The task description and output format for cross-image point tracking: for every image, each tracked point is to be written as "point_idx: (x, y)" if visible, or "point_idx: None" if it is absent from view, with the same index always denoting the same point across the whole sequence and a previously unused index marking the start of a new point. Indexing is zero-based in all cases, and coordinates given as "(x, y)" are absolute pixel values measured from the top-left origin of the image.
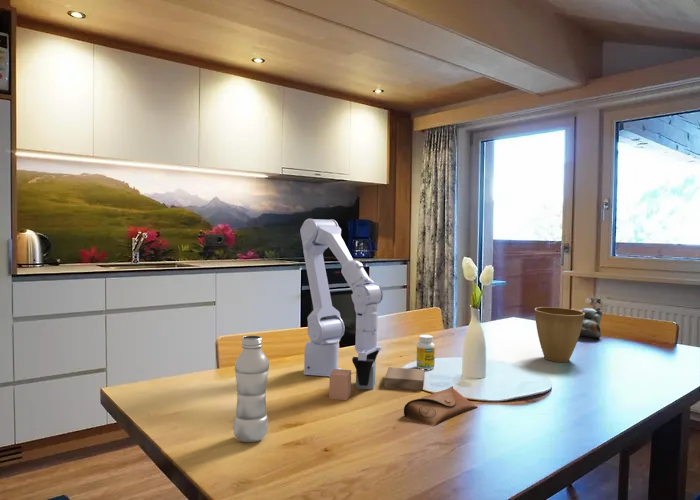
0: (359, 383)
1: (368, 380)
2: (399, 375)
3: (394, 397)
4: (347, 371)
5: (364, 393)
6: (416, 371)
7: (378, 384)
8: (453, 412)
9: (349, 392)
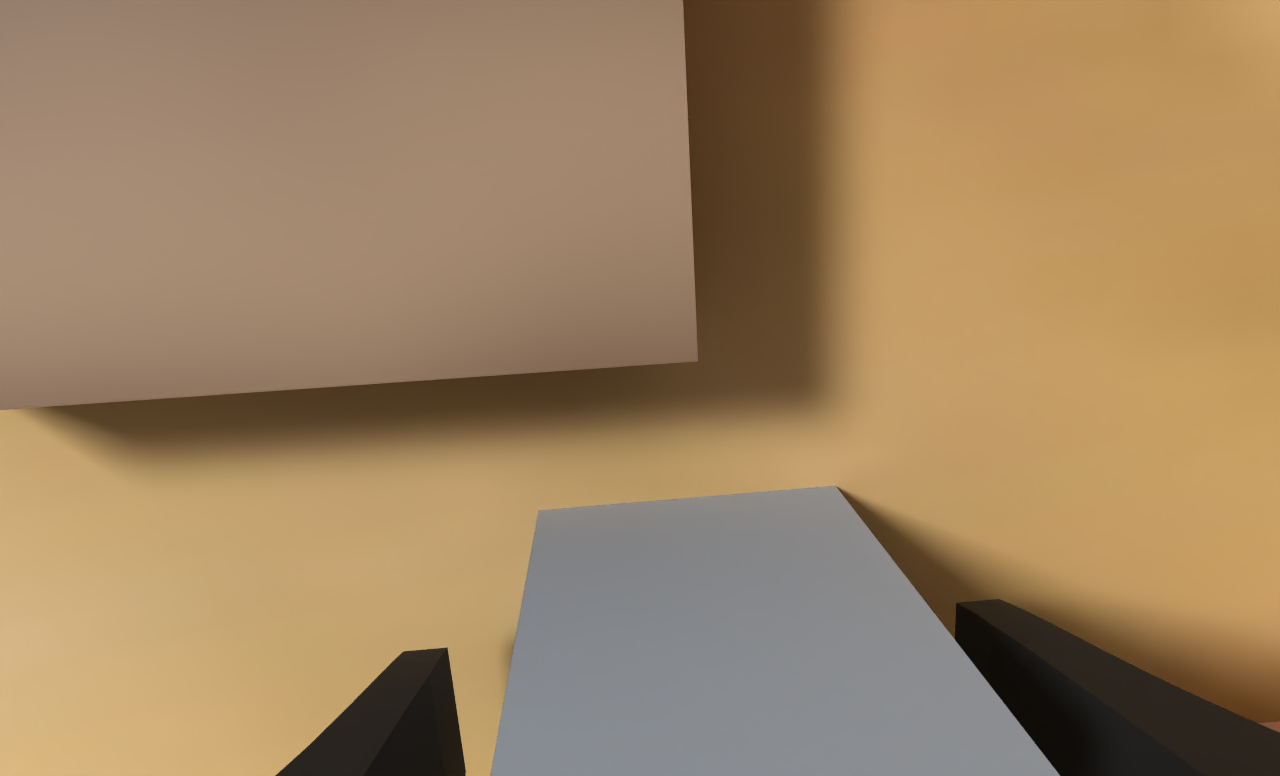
0: None
1: (1073, 635)
2: (390, 14)
3: (1183, 40)
4: None
5: (1056, 565)
6: None
7: (544, 452)
8: None
9: None
